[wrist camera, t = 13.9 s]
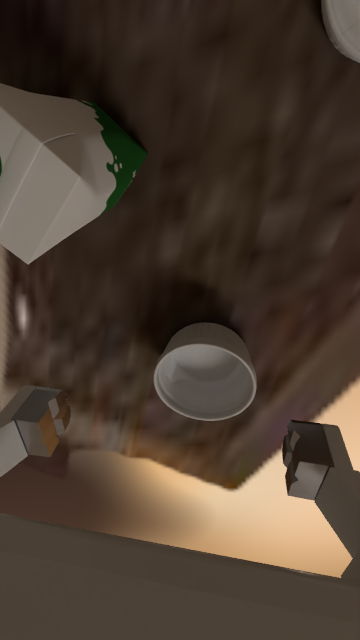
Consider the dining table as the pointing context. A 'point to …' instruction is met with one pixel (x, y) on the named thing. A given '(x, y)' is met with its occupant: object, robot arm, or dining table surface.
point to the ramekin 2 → (343, 25)
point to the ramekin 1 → (205, 373)
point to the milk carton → (57, 168)
